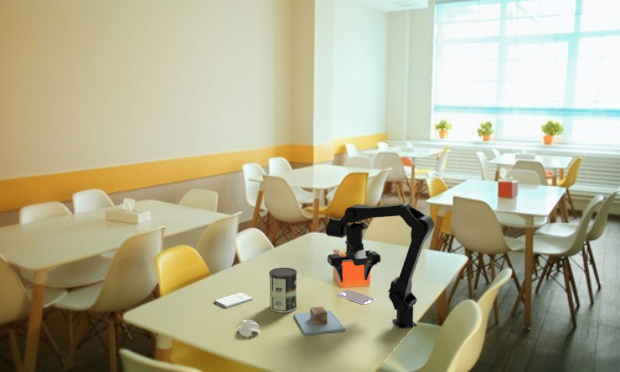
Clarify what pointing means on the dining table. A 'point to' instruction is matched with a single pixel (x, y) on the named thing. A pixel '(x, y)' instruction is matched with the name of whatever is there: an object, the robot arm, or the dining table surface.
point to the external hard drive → (233, 300)
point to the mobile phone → (356, 297)
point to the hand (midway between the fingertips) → (353, 281)
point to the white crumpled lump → (248, 328)
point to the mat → (311, 329)
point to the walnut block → (318, 315)
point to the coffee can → (283, 290)
